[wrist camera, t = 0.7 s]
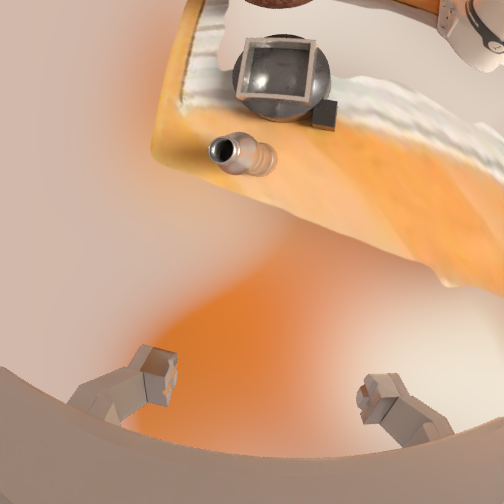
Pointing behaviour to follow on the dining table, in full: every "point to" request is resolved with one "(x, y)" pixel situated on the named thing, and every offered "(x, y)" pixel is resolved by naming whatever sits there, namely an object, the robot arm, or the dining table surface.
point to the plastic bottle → (242, 155)
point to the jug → (278, 3)
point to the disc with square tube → (285, 80)
